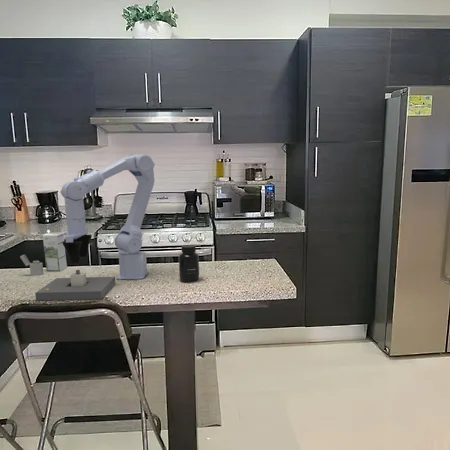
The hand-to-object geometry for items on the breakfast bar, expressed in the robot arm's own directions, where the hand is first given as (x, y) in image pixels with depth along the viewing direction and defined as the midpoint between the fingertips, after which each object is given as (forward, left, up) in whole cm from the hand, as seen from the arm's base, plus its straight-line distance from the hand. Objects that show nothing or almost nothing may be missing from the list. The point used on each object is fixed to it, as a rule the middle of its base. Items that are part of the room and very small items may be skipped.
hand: (79, 259), depth 130 cm
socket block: (0, +5, -10) cm, 11 cm away
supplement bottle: (-35, -6, -10) cm, 37 cm away
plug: (-1, +5, -10) cm, 11 cm away
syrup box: (+19, -23, -10) cm, 32 cm away
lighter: (+25, -16, -10) cm, 31 cm away
